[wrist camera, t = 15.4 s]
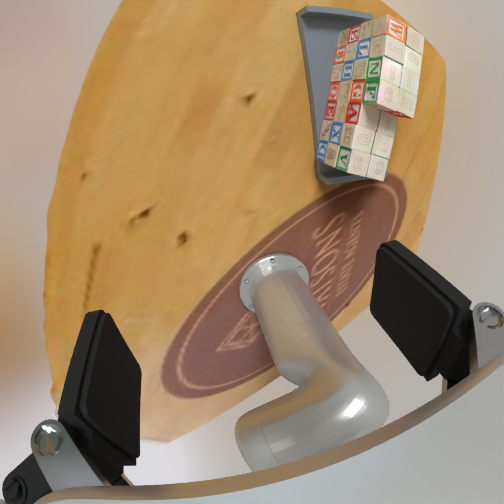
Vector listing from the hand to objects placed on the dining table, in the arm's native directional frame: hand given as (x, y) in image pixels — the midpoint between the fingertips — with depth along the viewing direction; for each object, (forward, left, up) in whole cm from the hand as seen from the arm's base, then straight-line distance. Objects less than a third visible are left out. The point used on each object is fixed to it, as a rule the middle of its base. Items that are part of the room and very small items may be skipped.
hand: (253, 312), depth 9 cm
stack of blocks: (+6, -22, -32) cm, 40 cm away
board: (+7, -22, -33) cm, 41 cm away
